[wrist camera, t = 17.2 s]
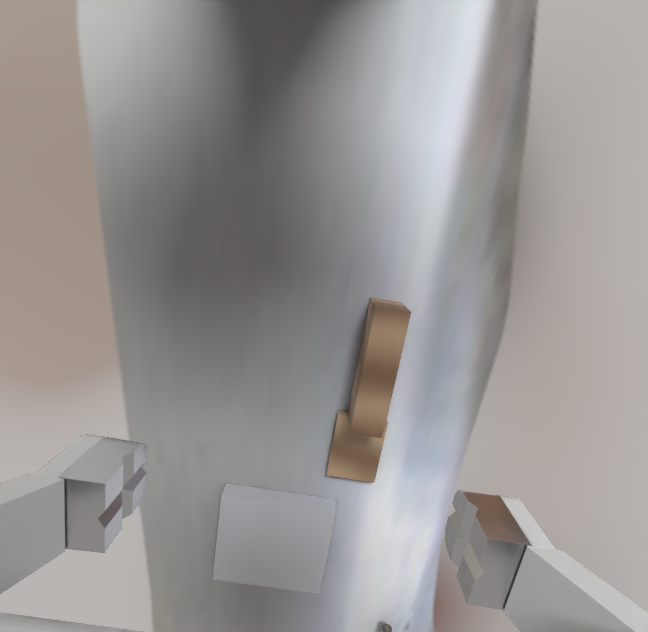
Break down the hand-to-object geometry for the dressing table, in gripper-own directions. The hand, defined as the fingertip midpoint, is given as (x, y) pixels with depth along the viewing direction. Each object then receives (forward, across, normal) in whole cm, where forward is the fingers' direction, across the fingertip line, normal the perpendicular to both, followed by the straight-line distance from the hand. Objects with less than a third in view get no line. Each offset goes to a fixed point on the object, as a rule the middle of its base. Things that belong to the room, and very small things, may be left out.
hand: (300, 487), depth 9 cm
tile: (+24, +1, +27) cm, 36 cm away
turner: (+25, -6, +8) cm, 27 cm away
